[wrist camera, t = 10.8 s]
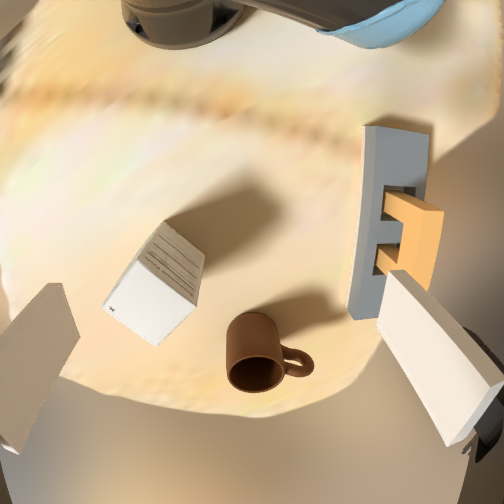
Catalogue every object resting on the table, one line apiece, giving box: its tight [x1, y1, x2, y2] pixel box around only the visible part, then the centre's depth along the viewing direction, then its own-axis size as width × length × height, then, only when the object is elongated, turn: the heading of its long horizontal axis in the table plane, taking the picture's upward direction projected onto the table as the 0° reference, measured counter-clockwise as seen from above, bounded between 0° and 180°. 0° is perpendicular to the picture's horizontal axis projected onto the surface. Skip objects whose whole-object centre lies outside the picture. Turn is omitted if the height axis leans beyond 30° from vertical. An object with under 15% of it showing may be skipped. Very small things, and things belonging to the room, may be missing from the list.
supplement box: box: [102, 221, 205, 346], centre depth 33 cm, size 7×7×13 cm
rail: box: [345, 126, 429, 320], centre depth 37 cm, size 26×8×4 cm, turn 0°
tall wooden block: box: [374, 189, 444, 292], centre depth 33 cm, size 10×3×10 cm, turn 0°
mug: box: [226, 313, 314, 393], centre depth 40 cm, size 12×8×9 cm, turn 82°
